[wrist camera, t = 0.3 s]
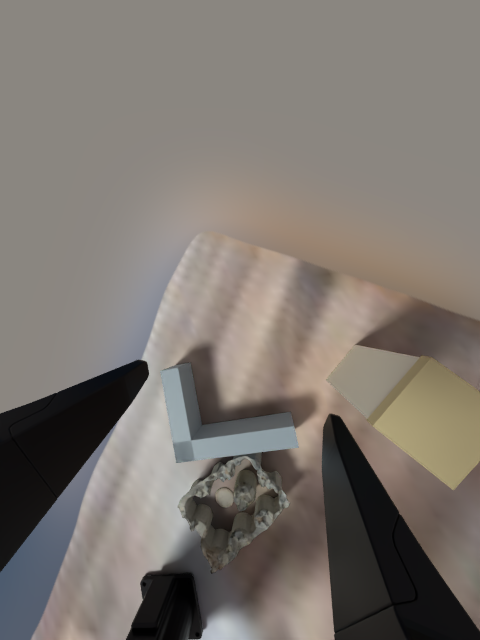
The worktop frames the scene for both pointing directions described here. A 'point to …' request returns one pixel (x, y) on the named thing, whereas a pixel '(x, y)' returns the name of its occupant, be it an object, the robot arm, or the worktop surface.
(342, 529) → the robot arm
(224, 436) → the corner fence
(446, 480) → the tea tin
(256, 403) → the worktop surface
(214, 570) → the egg carton
